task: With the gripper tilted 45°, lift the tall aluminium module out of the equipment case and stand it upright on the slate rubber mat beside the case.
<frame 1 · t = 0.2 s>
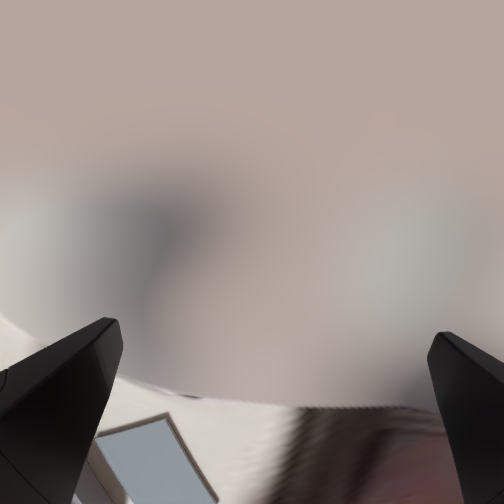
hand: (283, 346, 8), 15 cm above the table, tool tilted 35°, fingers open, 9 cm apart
case: (53, 471, 20), on the table
mat: (155, 473, 20), on the table
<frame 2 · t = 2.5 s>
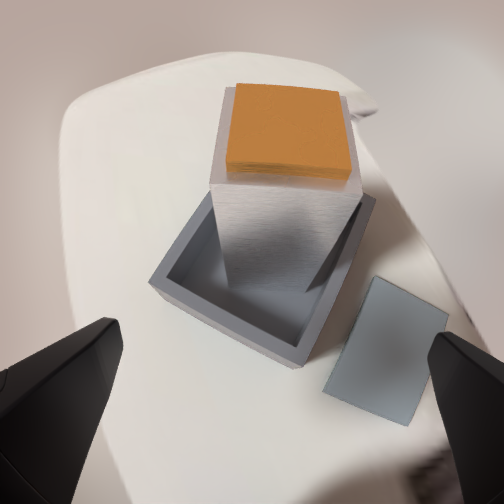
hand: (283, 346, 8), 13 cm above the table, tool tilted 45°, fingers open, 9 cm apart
case: (267, 260, 23), on the table
mat: (391, 352, 20), on the table
module: (268, 255, 22), point 1 cm above the table, touching case
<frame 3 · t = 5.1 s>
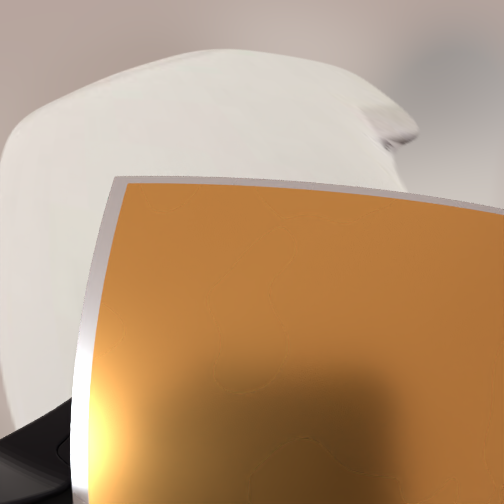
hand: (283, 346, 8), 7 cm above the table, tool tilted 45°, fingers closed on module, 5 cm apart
module: (266, 390, 13), point 1 cm above the table, touching case, gripper
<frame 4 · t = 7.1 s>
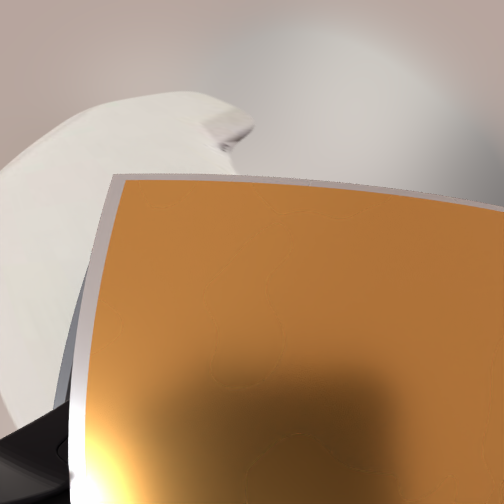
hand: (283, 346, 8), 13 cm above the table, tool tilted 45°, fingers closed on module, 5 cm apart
case: (159, 351, 21), on the table
module: (266, 389, 13), point 7 cm above the table, touching gripper
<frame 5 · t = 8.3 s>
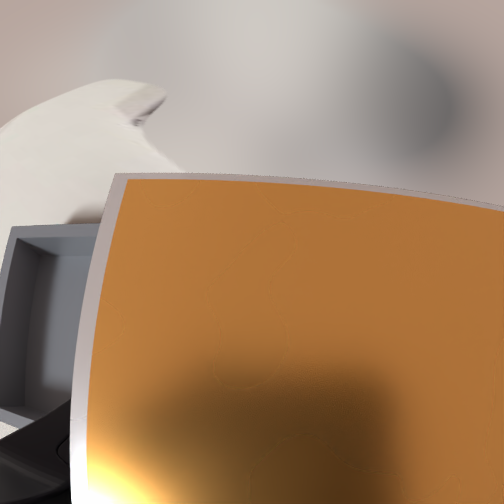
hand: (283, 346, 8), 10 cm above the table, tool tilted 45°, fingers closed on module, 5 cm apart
case: (86, 339, 18), on the table
module: (267, 389, 13), point 4 cm above the table, touching gripper
when the fingers open (8 cm above the table, at t = 9.1 s): module drops 1 cm, resting on mat.
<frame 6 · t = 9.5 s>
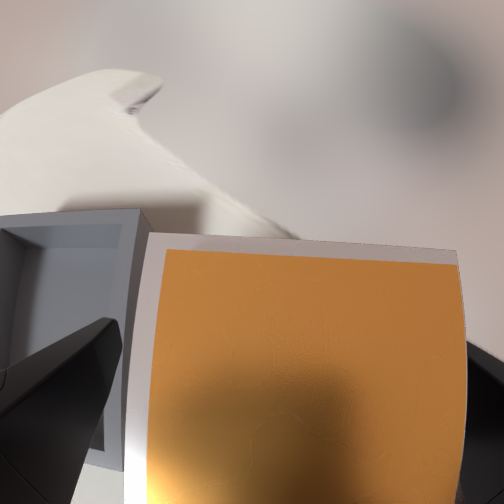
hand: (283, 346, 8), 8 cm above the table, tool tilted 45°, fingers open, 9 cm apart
case: (72, 338, 16), on the table
module: (265, 388, 15), resting on mat
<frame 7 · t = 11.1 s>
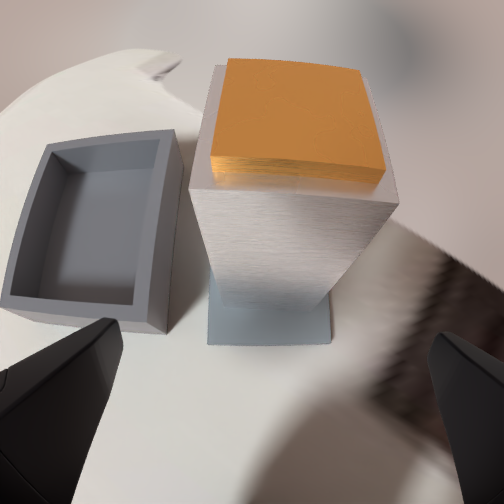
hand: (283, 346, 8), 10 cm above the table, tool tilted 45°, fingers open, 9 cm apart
case: (105, 241, 20), on the table
mat: (268, 271, 20), on the table
module: (269, 268, 19), resting on mat
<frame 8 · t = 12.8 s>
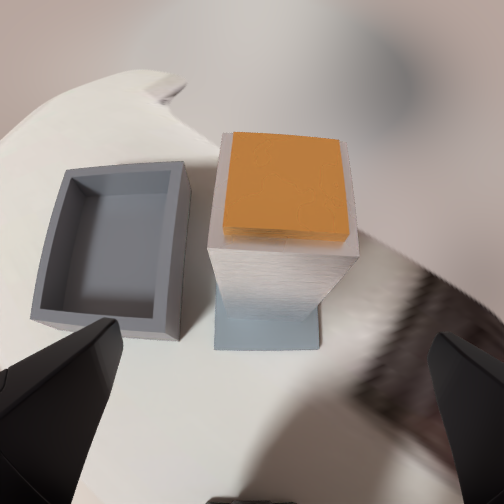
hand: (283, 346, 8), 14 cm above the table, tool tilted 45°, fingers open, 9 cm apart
case: (122, 259, 23), on the table
mat: (266, 287, 23), on the table
module: (267, 285, 22), resting on mat
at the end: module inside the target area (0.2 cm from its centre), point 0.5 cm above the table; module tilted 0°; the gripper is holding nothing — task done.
